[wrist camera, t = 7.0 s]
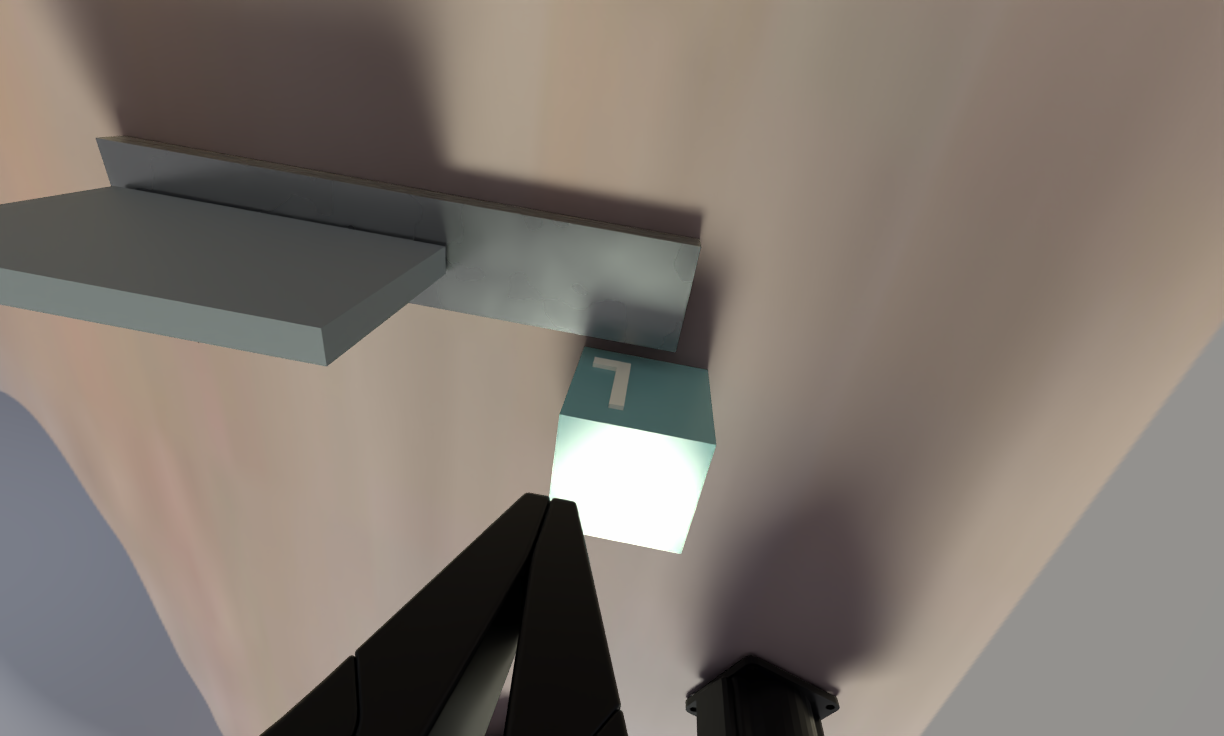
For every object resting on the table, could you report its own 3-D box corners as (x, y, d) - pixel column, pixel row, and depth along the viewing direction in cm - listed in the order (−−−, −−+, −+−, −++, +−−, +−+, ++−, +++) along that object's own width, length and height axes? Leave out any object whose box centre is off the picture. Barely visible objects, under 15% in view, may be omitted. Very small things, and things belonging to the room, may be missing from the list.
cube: (708, 365, 20) (717, 440, 16) (680, 464, 22) (680, 554, 18) (585, 341, 20) (560, 409, 16) (570, 443, 23) (545, 526, 18)
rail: (699, 239, 18) (700, 246, 17) (675, 340, 20) (675, 352, 19) (123, 135, 18) (95, 137, 17) (156, 244, 20) (132, 251, 19)
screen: (445, 246, 17) (320, 328, 11) (445, 273, 18) (326, 366, 12) (114, 185, 18) (-181, 233, 12) (123, 214, 18) (-155, 275, 12)
